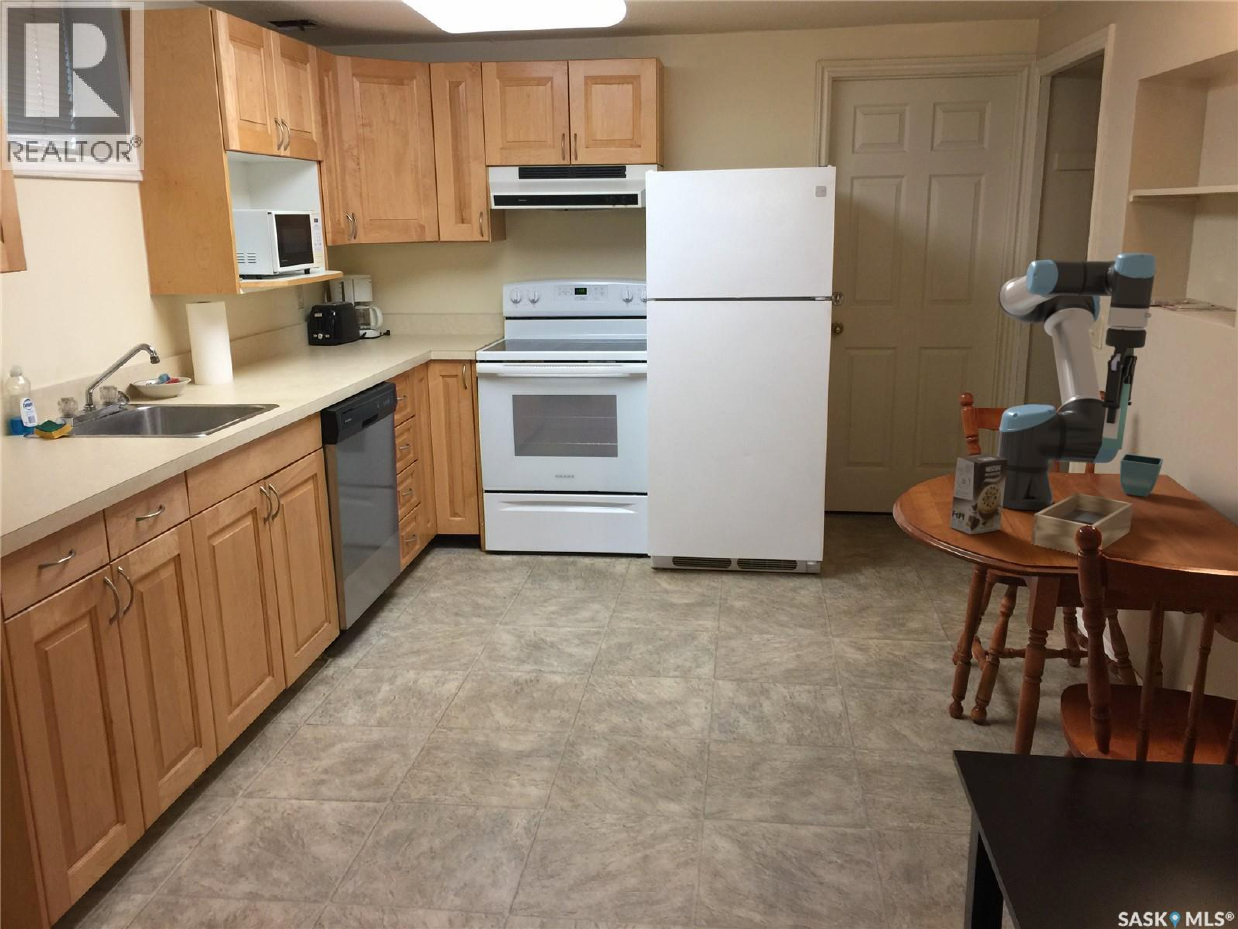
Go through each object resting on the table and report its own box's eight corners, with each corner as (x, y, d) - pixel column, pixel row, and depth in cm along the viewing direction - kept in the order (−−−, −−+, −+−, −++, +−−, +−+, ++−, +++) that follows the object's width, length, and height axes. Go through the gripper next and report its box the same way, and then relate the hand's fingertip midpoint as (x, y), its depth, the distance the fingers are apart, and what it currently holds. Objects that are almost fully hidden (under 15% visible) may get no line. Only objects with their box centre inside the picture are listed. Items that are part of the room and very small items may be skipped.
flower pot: (1158, 492, 248) (1163, 457, 246) (1155, 500, 241) (1160, 465, 239) (1119, 487, 253) (1124, 453, 250) (1115, 495, 245) (1120, 460, 243)
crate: (1030, 544, 207) (1034, 514, 206) (1072, 520, 224) (1076, 492, 222) (1090, 557, 199) (1094, 527, 198) (1129, 532, 216) (1133, 503, 214)
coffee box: (971, 535, 213) (978, 462, 209) (948, 527, 218) (955, 456, 214) (1001, 530, 217) (1009, 458, 213) (978, 522, 222) (986, 452, 218)
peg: (1099, 447, 214) (1107, 383, 211) (1104, 445, 217) (1112, 382, 214) (1118, 450, 212) (1127, 386, 209) (1124, 447, 215) (1132, 384, 212)
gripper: (1135, 331, 200) (1120, 444, 205) (1156, 326, 212) (1142, 433, 218) (1096, 329, 205) (1082, 439, 210) (1119, 324, 217) (1105, 428, 223)
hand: (1112, 436), depth 214 cm, fingers closed on peg, 4 cm apart
